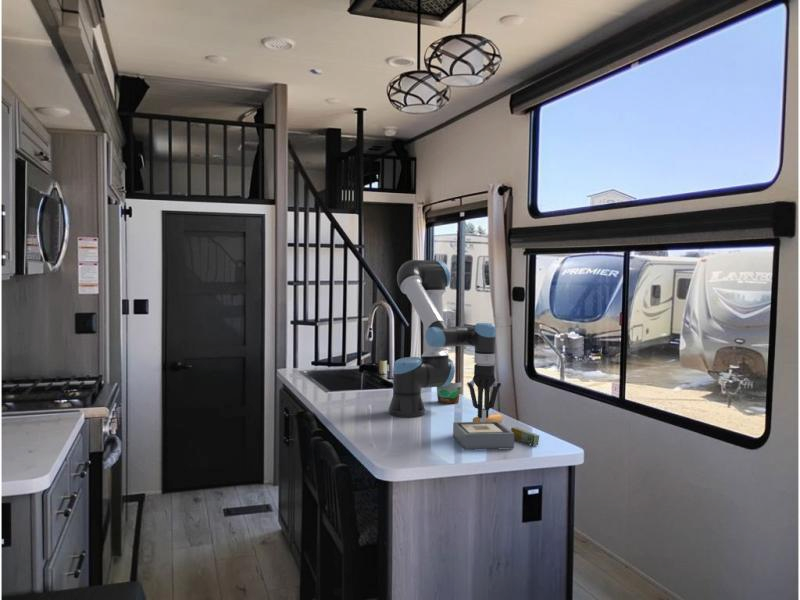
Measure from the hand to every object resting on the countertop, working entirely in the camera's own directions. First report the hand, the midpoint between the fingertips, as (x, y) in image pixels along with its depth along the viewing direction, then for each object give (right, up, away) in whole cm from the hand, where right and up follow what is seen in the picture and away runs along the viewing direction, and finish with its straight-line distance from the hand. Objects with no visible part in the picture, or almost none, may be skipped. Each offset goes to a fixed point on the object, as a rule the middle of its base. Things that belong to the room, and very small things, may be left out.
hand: (482, 426), depth 241 cm
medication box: (+13, -3, -14) cm, 19 cm away
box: (-2, -3, -17) cm, 17 cm away
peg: (-2, 0, +6) cm, 7 cm away
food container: (-10, 0, +48) cm, 49 cm away
